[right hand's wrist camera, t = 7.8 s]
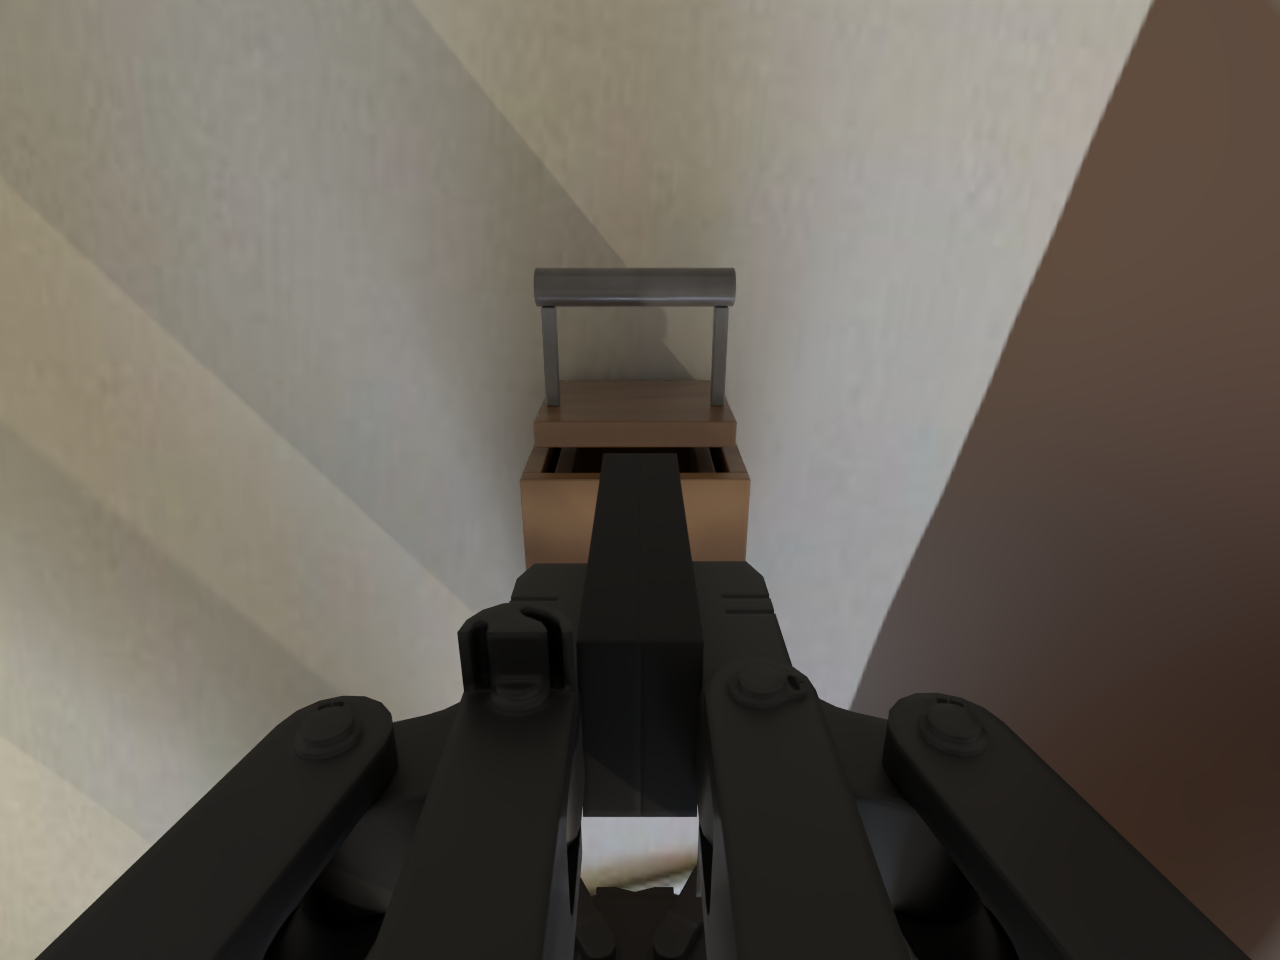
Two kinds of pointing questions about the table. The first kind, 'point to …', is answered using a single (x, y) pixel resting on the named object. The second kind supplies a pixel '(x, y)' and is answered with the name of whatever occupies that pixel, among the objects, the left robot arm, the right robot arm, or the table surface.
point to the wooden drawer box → (568, 503)
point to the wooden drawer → (634, 409)
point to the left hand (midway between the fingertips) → (636, 694)
